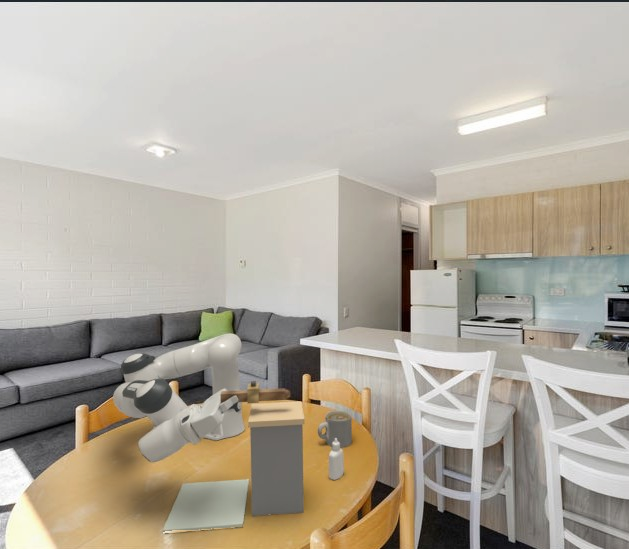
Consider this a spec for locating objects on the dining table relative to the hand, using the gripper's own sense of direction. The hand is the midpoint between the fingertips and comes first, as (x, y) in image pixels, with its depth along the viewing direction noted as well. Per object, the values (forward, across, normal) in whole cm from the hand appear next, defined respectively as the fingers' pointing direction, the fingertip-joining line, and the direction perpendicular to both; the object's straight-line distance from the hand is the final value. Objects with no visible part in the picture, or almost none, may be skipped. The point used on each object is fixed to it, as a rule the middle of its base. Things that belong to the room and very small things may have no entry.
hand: (238, 394), depth 104 cm
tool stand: (-6, 0, -32) cm, 33 cm away
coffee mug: (+12, -33, -43) cm, 55 cm away
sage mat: (-23, 0, -23) cm, 32 cm away
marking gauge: (+3, 0, -4) cm, 5 cm away
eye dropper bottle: (+10, -10, -42) cm, 44 cm away
